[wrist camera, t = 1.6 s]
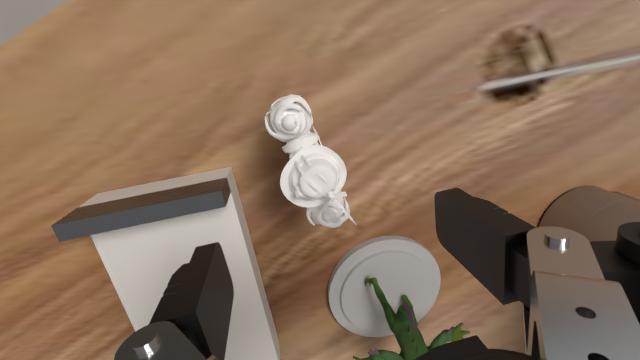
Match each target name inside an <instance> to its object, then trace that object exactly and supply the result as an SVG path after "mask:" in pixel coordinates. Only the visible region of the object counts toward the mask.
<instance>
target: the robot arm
mask: <svg viewBox="0 0 640 360" xmlns="http://www.w3.org/2000/svg"><path fill="white" fill-rule="evenodd" d="M435 217H436V232H437V236H438V239H439V241H440V243H441V244H442V246H443V247H444V248H445V249H446V250H447V251H448V252H450V253H451V254H452V255H453V256H454V257H455V258H456V259H457V260H458V261H459V262H460V263H461V264H462V265H463V266H464V267H465V268H466V269H467V270H468V271H469V272H470V273H471V274H472V275H473V276H474V277H475V278H476V279H477V280H478V281H479V282H480V283H482V284H483V285H484V286H485V287H486V288H487V289H488V290H489V291H490V292H491V293H492V294H493V295H494V296H495V297H496V298H497V299H498V300H499V301H500V302H501V303H502V304H503V305H504V304H508V303H512V302H515V301H519V300H520V301H521V302H522V303H523V310H522V316H523V331H524V346H525V354H523V353H519V352H515V351H509V350H501V349H487V348H486V346H485V345H484V344H483V343H482V341H481V340H480V339H479V338H478V336H477V335H476V336H472V337H468V338H465V339H461V340H458V341H454V342H450V343H447V344H443V345H440V346H436V347H435V348H433V349H431V350H430V351H428V352H426V353H424V354H423V355H421V356H419V357H418V358H416V359H414V360H640V200H639V199H636V198H633V197H630V196H628V195H625V194H622V193H619V192H610V191H607V190H604V189H601V188H598V187H594V186H584V187H579V188H576V189H573V190H571V191H569V192H567V193H565V194H564V195H562V196H561V197H559V198H558V199H557V200H556V201H555V202H554V203H553V204H552V205H551V206H550V207H549V208H548V210H547V211H546V213H545V214H544V216H543V218H542V220H541V222H540V225H539V227H538V228H536V227H534V226H532V225H530V224H528V223H527V222H525V221H523V220H521V219H520V218H518V217H516V216H514V215H513V214H511V213H510V214H509V213H508V212H507V211H506V210H504V209H502V208H499V207H498V206H497V205H495V204H493V203H491V202H490V201H487V200H484V199H480V198H476V197H473V196H471V195H469V194H467V193H466V192H464V191H462V190H461V189H459V188H453V189H449V190H444V191H440V192H437V193H436V194H435ZM233 298H234V289H233V282H232V278H231V275H230V272H229V269H228V266H227V263H226V260H225V256H224V253H223V250H222V247H221V245H220V243H219V242H215V243H211V244H207V245H202V246H198V247H196V248H195V250H194V253H193V255H192V257H191V260H190V262H189V263H186V264H183V265H182V266H181V267H180V268H179V269H178V270H177V271H176V272H175V273H174V274H173V275H172V276H171V278H170V280H169V283H168V285H167V288H166V289H165V291H164V293H163V297H161V299H160V302H159V304H158V306H157V308H156V310H155V312H154V314H153V316H152V319H151V321H150V323H149V325H147V326H144V327H142V328H141V329H139V330H137V331H136V332H134V333H133V334H132V335H130V336H129V337H128V338H127V339H126V340H125V341H124V342H123V343H122V344H121V345H120V347H119V348H118V350H117V352H116V354H115V357H114V360H224V359H225V352H226V345H227V338H228V332H229V325H230V318H231V311H232V305H233Z"/></svg>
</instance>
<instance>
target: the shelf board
mask: <svg viewBox="0 0 640 360" xmlns="http://www.w3.org/2000/svg"><path fill="white" fill-rule="evenodd" d="M226 177H227V180H228V183H229V187H230V190H231V193H230V196H229V199H228V202H227V205H226V207H222V208H217V209H213V210H208V211H203V212H198V213H194V214H189V215H184V216H179V217H175V218H170V219H165V220H160V221H156V222H151V223H146V224H141V225H137V226H132V227H127V228H122V229H118V230H113V231H108V232H103V233H99V234H94V235H91V237H92V240H93V242H94V244H95V246H96V248H97V250H98V253H99V255H100V257H101V259H102V261H103V263H104V265H105V268H106V270H107V272H108V274H109V276H110V278H111V280H112V283H113V285H114V287H115V289H116V291H117V293H118V295H119V298H120V300H121V302H122V304H123V306H124V308H125V310H126V313H127V315H128V317H129V319H130V321H131V323H132V325H133V328H134V330H135V332H136V331H137V330H139V329H141V328H142V327H144V326H147V325H149V323H150V321H151V319H152V316H153V314H154V312H155V310H156V308H157V306H158V304H159V302H160V299H161V297H163V293H164V291H165V289H166V288H167V285H168V283H169V280H170V278H171V276H172V275H173V274H174V273H175V272H176V271H177V270H178V269H179V268H180V267H181V266H182V265H183V264H186V263H189V262H190V260H191V257H192V255H193V253H194V250H195V248H196V247H198V246H202V245H207V244H211V243H215V242H219V243H220V245H221V247H222V250H223V253H224V256H225V260H226V263H227V266H228V269H229V272H230V275H231V278H232V282H233V289H234V298H233V305H232V311H231V318H230V325H229V332H228V338H227V345H226V352H225V359H224V360H280V343H279V340H278V336H277V332H276V329H275V325H274V321H273V318H272V314H271V310H270V307H269V303H268V299H267V296H266V292H265V288H264V285H263V281H262V277H261V274H260V270H259V266H258V263H257V259H256V255H255V252H254V248H253V244H252V241H251V237H250V233H249V230H248V226H247V222H246V219H245V215H244V211H243V208H242V204H241V200H240V197H239V193H238V189H237V186H236V182H235V178H234V175H233V171H232V167H227V168H222V169H217V170H212V171H207V172H202V173H197V174H192V175H187V176H182V177H177V178H172V179H167V180H162V181H157V182H152V183H147V184H142V185H137V186H132V187H127V188H122V189H117V190H112V191H107V192H102V193H98V194H97V195H95V196H94V197H92V198H91V199H89V200H88V201H86V202H85V203H84V204H82V205H81V206H79V207H83V206H88V205H93V204H98V203H103V202H108V201H113V200H118V199H123V198H128V197H132V196H137V195H142V194H147V193H152V192H157V191H162V190H167V189H172V188H177V187H182V186H187V185H192V184H197V183H202V182H207V181H211V180H216V179H221V178H226Z"/></svg>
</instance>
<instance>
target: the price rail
mask: <svg viewBox="0 0 640 360" xmlns="http://www.w3.org/2000/svg"><path fill="white" fill-rule="evenodd" d="M230 193H231V190H230V187H229V183H228V180H227V177H226V178H221V179H216V180H211V181H207V182H202V183H197V184H192V185H187V186H182V187H177V188H172V189H167V190H162V191H157V192H152V193H147V194H142V195H137V196H132V197H128V198H123V199H118V200H113V201H108V202H103V203H98V204H93V205H88V206H83V207H78V208H76V209H75V210H73V211H72V212H71V213H69V214H68V215H66V216H65V217H63V218H62V219H60V220H59V221H58V222H56V223H55V224H53V225H52V228H53V230H54V232H55V234H56V236H57V238H58V240H59V242H61V241H66V240H70V239H75V238H80V237H85V236H89V235H94V234H99V233H103V232H108V231H113V230H118V229H122V228H127V227H132V226H137V225H141V224H146V223H151V222H156V221H160V220H165V219H170V218H175V217H179V216H184V215H189V214H194V213H198V212H203V211H208V210H213V209H217V208H222V207H226V205H227V202H228V199H229V196H230Z"/></svg>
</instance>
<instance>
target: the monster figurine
mask: <svg viewBox="0 0 640 360" xmlns="http://www.w3.org/2000/svg"><path fill="white" fill-rule="evenodd" d="M440 282H441V280H440V271H439V267H438V265H437V262H436V260H435V259H434V257H433V256H432V254H431V253H430V252H429V251H428V250H427V249H426V248H425V247H424V246H423V245H421V244H420V243H418V242H417V241H414V240H412V239H410V238H406V237H402V236H381V237H377V238H373V239H370V240H367V241H365V242H363V243H361V244H359V245H357V246H356V247H354V248H353V249H351V250H350V251H349V252H348V253H347V254H346V255H344V256H343V257H342V259H341V260H340V261H339V262H338V264H337V265H336V267H335V268H334V270H333V272H332V274H331V277H330V280H329V285H328V299H329V304H330V308H331V311H332V313H333V315H334V317H335V318H336V320H337V321H338V322H339V323H340V324H341V326H343V327H344V328H345V329H347V330H348V331H350V332H352V333H354V334H357V335H361V336H365V337H385V336H390V335H395V337H396V339H397V341H398V344H399V346H400V348H401V352H400V354H397V353H395V352H392V351H386V350H377V349H376V348H375V349H376V350H375V351H373V350H371V349H370V352H368V353H369V355H370V356H369V357H368V358H363V359H360V358H357V357H354V356H353V359H354V358H355V359H356V360H383V359H384V360H414V359H416V358H418V357H419V356H421V355H423V354H424V353H426V352H428V351H430V350H431V349H433V348H435V347H436V346H440V345H443V344H446V342H448V341H452V342H454V341H458V340H461V339H465V338H463V335H465V334H468V333H470V332H469V331H462V330H461V326H462V325H463V323H460V324H459V325H458V326H456V327H452V328H451V329H449V330H443V331H442V332H441V333H440V334H439V335H438V336H437V337H436V338H435V339H434V340H433V341H432V343H431V344H430V346H428V347H426V345H425V342H424V340H423V337H422V335H421V333H420V331H419V329H418V328H417V326H418V324H417V322H418V321H419V320H421V319H422V318H423V317H424V316H425V315H426V314H427V312H428V311H429V310H430V309H431V307H432V306H433V304H434V302H435V300H436V298H437V296H438V292H439V289H440Z"/></svg>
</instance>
